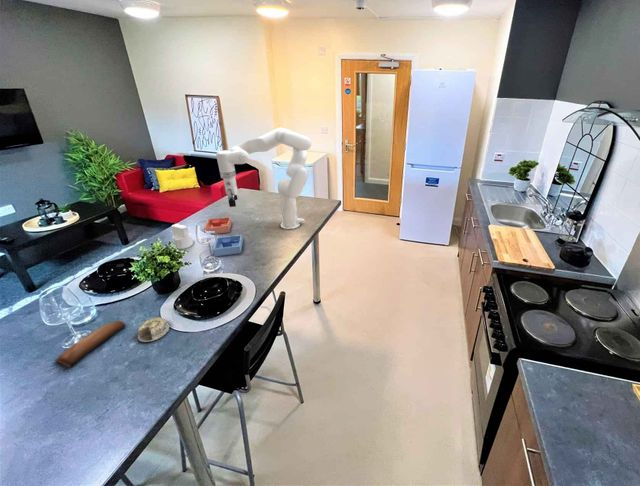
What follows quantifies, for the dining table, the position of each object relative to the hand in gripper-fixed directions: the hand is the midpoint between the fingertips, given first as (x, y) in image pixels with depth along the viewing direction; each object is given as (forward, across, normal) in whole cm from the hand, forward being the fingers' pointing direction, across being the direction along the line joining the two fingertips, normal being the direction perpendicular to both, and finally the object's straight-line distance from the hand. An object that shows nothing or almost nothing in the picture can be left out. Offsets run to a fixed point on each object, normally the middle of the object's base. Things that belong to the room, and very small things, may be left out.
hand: (233, 203), depth 162 cm
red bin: (+24, +18, +14) cm, 33 cm away
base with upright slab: (+24, +2, +30) cm, 39 cm away
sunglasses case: (+23, -65, +44) cm, 82 cm away
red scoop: (+23, +18, +13) cm, 32 cm away
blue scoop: (+23, -9, +4) cm, 25 cm away
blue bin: (+24, -9, +5) cm, 26 cm away
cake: (+23, -65, +26) cm, 74 cm away
